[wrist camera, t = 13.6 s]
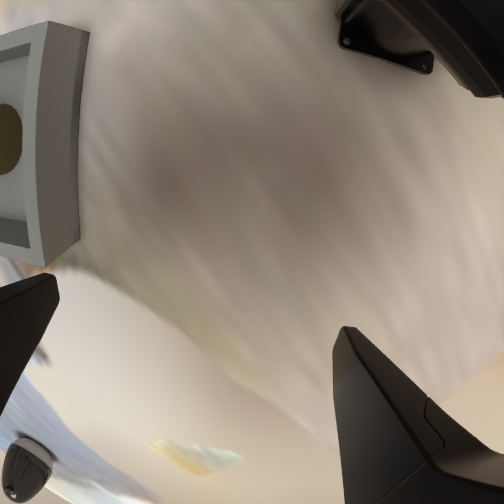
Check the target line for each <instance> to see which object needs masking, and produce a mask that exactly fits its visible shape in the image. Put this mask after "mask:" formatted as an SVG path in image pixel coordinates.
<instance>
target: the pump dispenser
mask: <svg viewBox="0 0 504 504" xmlns="http://www.w3.org/2000/svg"><path fill="white" fill-rule="evenodd" d="M51 475H52V459H51V456H50V455H49V453H48V452H47V451H46V450H45V449H44V448H43V447H42V446H41V445H39V444H38V443H36V442H35V441H33V440H31V439H27V438H20V439H17V440H16V441H15V442H14V443H11V444H10V446H9V448H8V450H7V453H6V456H5V460H4V464H3V470H2V487H3V491H4V493H5V495H6V496H7V497H8V498H9V499H10V500H11V501H13V502H15V503H25V502H27V501H29V500H30V499H32V498H33V497H34V496H35V495H36V494H37V493H38V492H39V491H40V490H41V489H42V488H43V487H44V485H45V484H46V483H47V481H48V480H49V478H50V477H51Z"/></svg>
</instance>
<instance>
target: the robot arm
mask: <svg viewBox="0 0 504 504" xmlns="http://www.w3.org/2000/svg"><path fill="white" fill-rule="evenodd" d="M335 16H336V17H337V19H341V20H340V27H339V34H338V45H339V46H340V47H341V48H342V49H344V50H348V51H352V52H356V53H360V54H363V55H367V56H370V57H374V58H377V59H380V60H383V61H386V62H390V63H393V64H396V65H398V66H401V67H404V68H407V69H410V70H413V71H415V72H418V73H421V74H423V75H427V74H430V73H431V72H432V70H433V62H434V56H435V57H436V58H437V59H438V60H439V61H440V62H441V63H442V64H443V66H444V67H445V68H446V69H447V70H448V71H449V73H450V74H451V75H452V76H453V77H454V78H455V80H456V81H457V82H458V83H459V85H460V86H462V87H464V88H465V89H467V90H470V91H471V92H472V94H473V95H474V96H475V97H479V98H496V97H502V98H504V0H337V3H336V11H335ZM343 39H347V40H348V41H349V45H345V44H344V43H343ZM423 64H424V65H426V67H427V70H424V68H423ZM59 300H60V296H59V291H58V286H57V280H56V277H55V276H54V275H52V274H48V273H42V274H39V275H36V276H33V277H30V278H27V279H24V280H21V281H18V282H15V283H12V284H9V285H6V286H3V287H0V416H1V414H2V412H3V410H4V408H5V406H6V403H7V401H8V399H9V397H10V395H11V393H12V391H13V389H14V388H15V386H16V384H17V382H18V380H19V378H20V376H21V374H22V372H23V371H24V369H25V367H26V365H27V363H28V361H29V360H30V358H31V356H32V354H33V353H34V351H35V349H36V347H37V346H38V344H39V342H40V340H41V339H42V337H43V335H44V333H45V330H46V328H47V326H48V324H49V322H50V320H51V318H52V316H53V314H54V312H55V310H56V308H57V306H58V304H59ZM332 357H333V398H334V407H335V415H336V423H337V431H338V439H339V448H340V457H341V467H342V476H343V488H344V499H345V504H504V454H500V453H497V452H495V451H493V450H491V449H489V448H488V447H487V446H485V445H484V444H483V443H482V442H481V441H479V440H478V439H477V438H476V437H474V436H473V435H472V434H471V433H469V432H468V431H467V430H466V429H464V428H463V427H462V426H461V425H460V424H458V423H457V422H456V421H455V420H453V419H452V418H451V417H450V416H449V415H448V414H446V412H444V411H443V410H442V409H441V408H440V407H439V406H438V405H437V404H436V403H435V402H434V401H433V400H432V399H431V398H430V397H427V395H426V394H425V393H424V392H423V391H422V390H421V389H420V388H419V387H418V386H417V385H416V384H415V383H414V382H413V381H412V380H411V379H410V378H409V377H408V376H407V375H406V374H405V373H403V372H402V371H401V370H400V369H399V368H398V367H397V366H396V365H395V364H394V363H393V362H392V361H391V360H390V359H389V358H388V357H387V356H386V355H385V354H383V353H382V352H381V351H380V350H379V349H378V348H377V347H376V346H375V345H374V344H373V343H372V342H371V341H370V340H369V339H368V338H366V337H365V336H364V335H363V334H362V333H361V332H360V331H359V330H358V329H357V328H355V327H348V326H343V327H342V328H341V329H340V332H339V334H338V337H337V339H336V342H335V345H334V347H333V353H332Z"/></svg>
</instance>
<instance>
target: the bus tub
mask: <svg viewBox="0 0 504 504" xmlns="http://www.w3.org/2000/svg"><path fill="white" fill-rule="evenodd" d="M89 34H90V33H89V32H86V31H83V30H80V29H77V28H73V27H70V26H66V25H63V24H59V23H55V22H52V21H46V22H42V23H39V24H35V25H32V26H28V27H25V28H22V29H18V30H15V31H12V32H9V33H7V34H4V35H1V36H0V104H4V103H5V104H8V105H11V106H12V107H13V108H14V109H15V110H16V111H17V112H18V114H19V116H20V118H21V122H22V126H23V136H22V154H21V157H20V159H19V162H18V164H17V165H16V166H15V168H14V169H13V170H12V171H11V172H9V173H7V174H4V175H0V256H2V257H6V258H10V259H13V260H17V261H21V262H25V263H29V264H33V265H37V266H41V267H45V268H46V267H47V266H48V265H49V264H50V263H51V262H53V261H54V260H55V259H56V258H57V257H59V256H60V255H61V254H62V253H63V252H65V251H66V250H67V249H68V248H70V247H71V246H72V245H73V244H75V243H76V242H77V241H78V240H80V230H79V214H78V184H77V157H78V128H79V112H80V100H81V90H82V81H83V73H84V65H85V58H86V52H87V46H88V40H89Z"/></svg>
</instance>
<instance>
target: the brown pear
mask: <svg viewBox="0 0 504 504" xmlns="http://www.w3.org/2000/svg"><path fill="white" fill-rule="evenodd" d="M22 136H23V126H22V122H21V118H20V116H19V114H18V112H17V111H16V110H15V109H14V108H13V107H12V106H11V105H8V104H5V103H4V104H0V175H4V174H7V173H9V172H11V171H12V170H13V169H14V168H15V166H16V165H17V164H18V162H19V159H20V157H21V154H22Z"/></svg>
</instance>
